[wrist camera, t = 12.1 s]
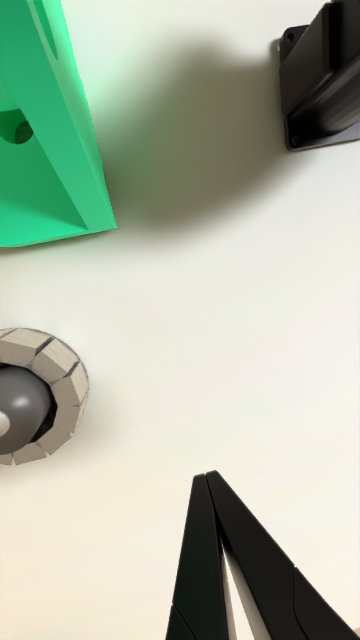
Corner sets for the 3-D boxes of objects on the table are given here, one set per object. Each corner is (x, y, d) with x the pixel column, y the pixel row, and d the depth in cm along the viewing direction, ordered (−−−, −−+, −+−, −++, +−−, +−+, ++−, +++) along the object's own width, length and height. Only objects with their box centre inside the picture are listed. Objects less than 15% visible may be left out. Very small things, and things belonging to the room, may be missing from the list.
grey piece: (66, 315, 18) (52, 326, 15) (102, 419, 21) (95, 444, 18) (-65, 344, 17) (-105, 361, 15) (-10, 447, 20) (-36, 478, 17)
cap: (45, 351, 18) (16, 379, 14) (67, 406, 20) (46, 445, 16) (-23, 367, 18) (-72, 400, 14) (5, 422, 19) (-33, 466, 15)
